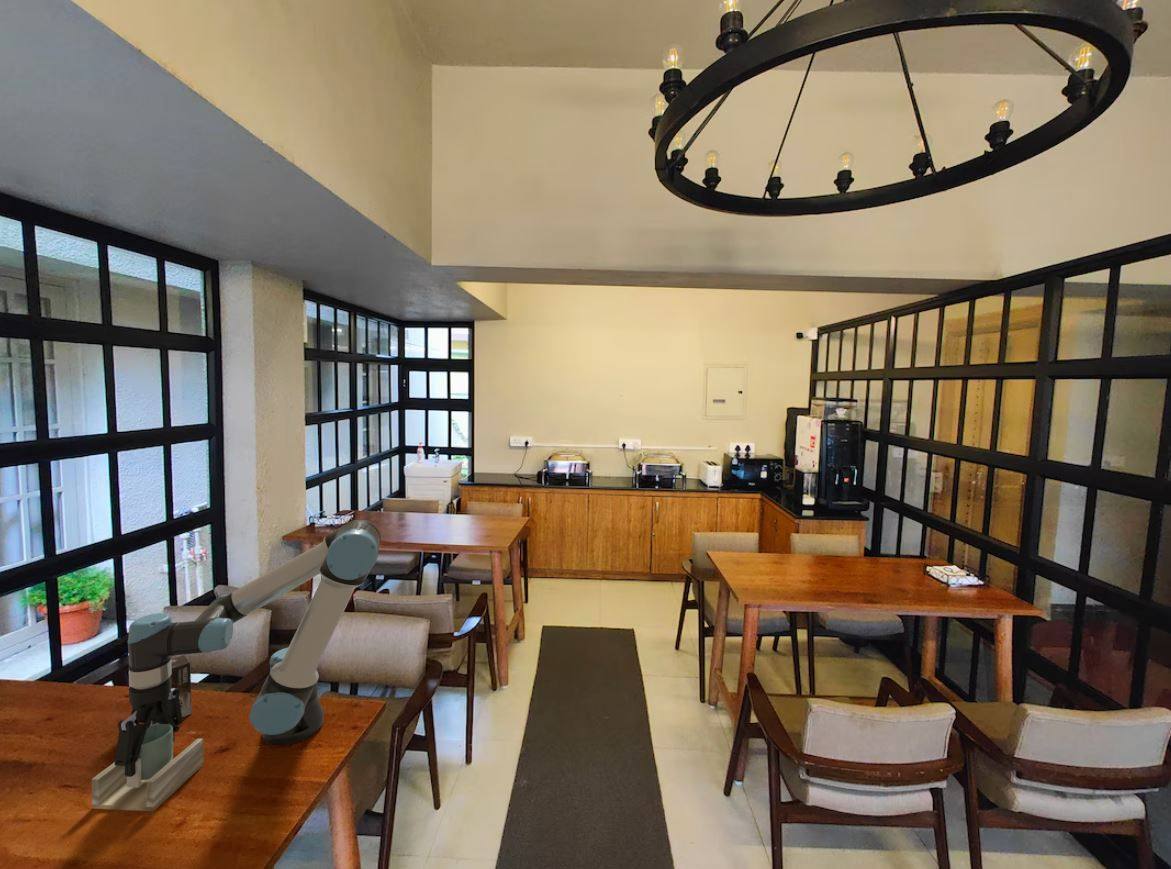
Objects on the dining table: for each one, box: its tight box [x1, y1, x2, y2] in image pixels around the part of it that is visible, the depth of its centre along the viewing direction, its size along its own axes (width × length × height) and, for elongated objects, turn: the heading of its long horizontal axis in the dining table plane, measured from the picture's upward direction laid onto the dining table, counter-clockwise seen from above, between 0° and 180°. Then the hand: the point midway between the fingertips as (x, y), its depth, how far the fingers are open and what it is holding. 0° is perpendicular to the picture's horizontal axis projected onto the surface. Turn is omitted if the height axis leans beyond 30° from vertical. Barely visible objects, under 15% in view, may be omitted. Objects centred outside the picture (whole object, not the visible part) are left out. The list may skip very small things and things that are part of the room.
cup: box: [138, 723, 174, 780], centre depth 114 cm, size 8×8×10 cm
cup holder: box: [91, 737, 204, 812], centre depth 114 cm, size 14×14×7 cm
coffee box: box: [150, 654, 193, 725], centre depth 138 cm, size 9×6×16 cm
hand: (151, 771), depth 114 cm, fingers closed on cup, 8 cm apart
